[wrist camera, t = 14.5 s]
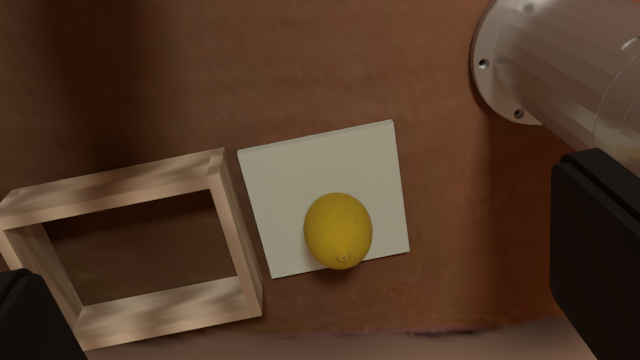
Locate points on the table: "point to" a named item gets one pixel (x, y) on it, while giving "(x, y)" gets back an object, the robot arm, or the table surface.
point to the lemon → (338, 230)
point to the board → (324, 190)
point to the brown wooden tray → (119, 190)
